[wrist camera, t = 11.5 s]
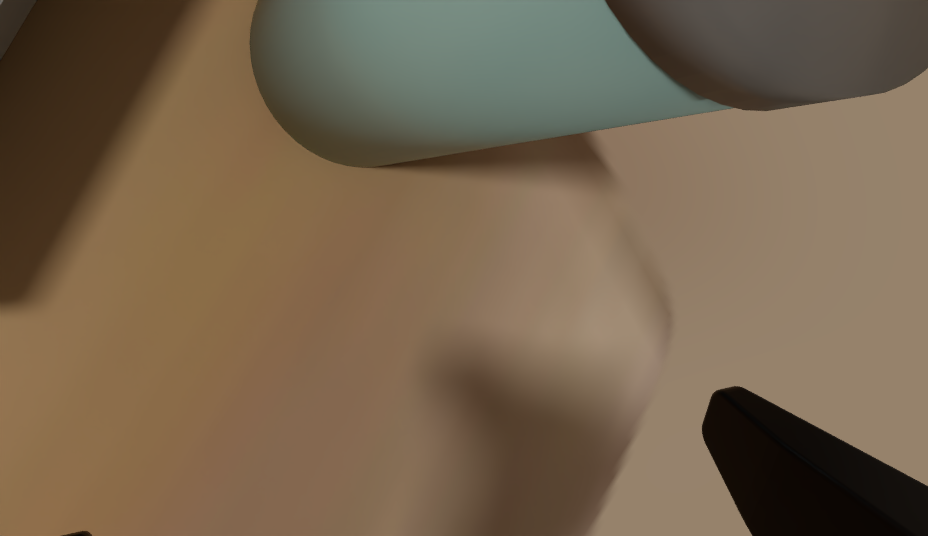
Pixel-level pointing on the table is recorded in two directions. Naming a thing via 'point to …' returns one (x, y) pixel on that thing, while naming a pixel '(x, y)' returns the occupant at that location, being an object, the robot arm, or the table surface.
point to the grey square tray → (12, 20)
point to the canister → (559, 66)
